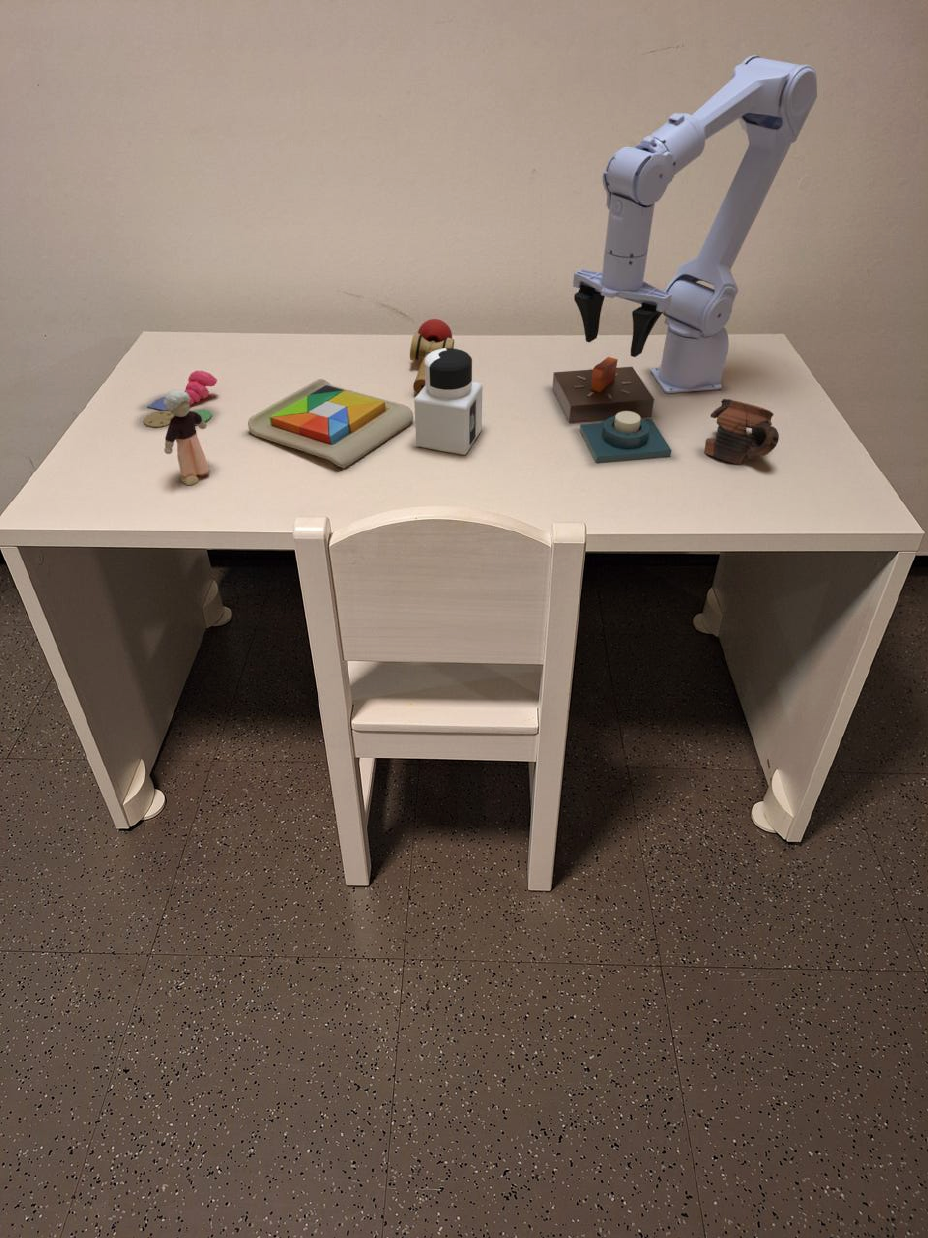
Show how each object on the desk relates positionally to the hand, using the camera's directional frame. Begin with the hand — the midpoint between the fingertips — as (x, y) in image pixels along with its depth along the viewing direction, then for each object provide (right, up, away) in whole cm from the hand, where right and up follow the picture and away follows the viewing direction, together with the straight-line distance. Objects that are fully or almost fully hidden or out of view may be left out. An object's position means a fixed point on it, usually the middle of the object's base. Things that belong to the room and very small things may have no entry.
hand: (613, 346), depth 119 cm
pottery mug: (+18, -16, -1) cm, 24 cm away
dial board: (0, -6, +9) cm, 11 cm away
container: (-24, -13, +1) cm, 27 cm away
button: (+2, -12, -2) cm, 13 cm away
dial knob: (0, -4, +7) cm, 8 cm away
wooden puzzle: (-42, -11, +4) cm, 43 cm away
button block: (+2, -14, 0) cm, 14 cm away
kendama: (-27, +2, +17) cm, 32 cm away
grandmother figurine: (-59, -20, -5) cm, 62 cm away
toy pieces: (-66, -7, +8) cm, 67 cm away
